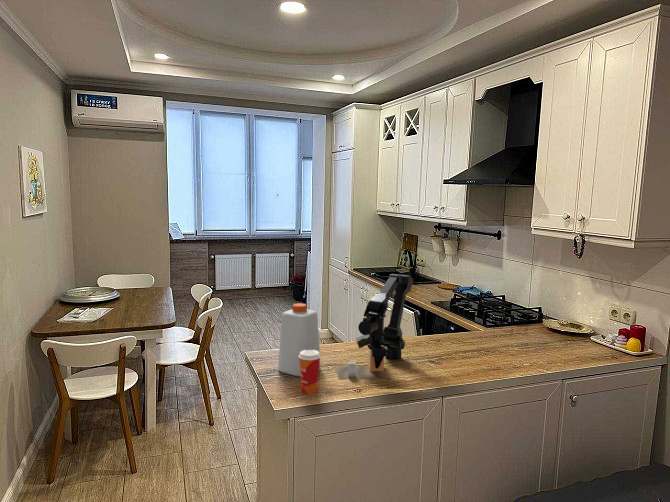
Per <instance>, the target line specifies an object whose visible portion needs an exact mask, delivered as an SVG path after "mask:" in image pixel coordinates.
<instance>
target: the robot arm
mask: <svg viewBox="0 0 670 502" xmlns="http://www.w3.org/2000/svg"><path fill="white" fill-rule="evenodd" d="M413 284H414V278H413V277H412V275H410V274H400V273H396V274H395V273H391V274H389V275H388V279H387V280H386V282H385V283H384V285H383V286H382V287H381V290H380V291H379V292H378V293H377V294H376V295H373V296H372V297H371V298H370V299H369V300H368V302H367V304H366V307H365V310H364V312H363V318H362V321H360V322H359V324H358V331H359V332H360V334H361V335H360V336H358V337H356V338H355V341H356V343H357V346H358V348H359V349H362V348H363V347H365V346H367V348H368V349H369V350H370V351H371V352H370V353H371V355H372V356H373V357H374V361H375V367H376V368H379V366H380V364H381V362H382V360H383V358H384V359H385V360H391V361H398V360H402V350H404V349H405V346H406V342H405V340H404V338H403V330H402V329H401V324H402V323H401V322H402V319H403V314H404V313H403V312H404V308H405V303H406V302H405V301H406V297H407V295H408V294H409V292H410V291H411V290H412V286H413ZM394 293H395V294H394ZM393 294H394V298H393V299H394V300H393V303H392V304H393V305H392V310H391V314H390V320H389V323H388V325H387V326H384V324H385V321H384V320H385V318H386V317H387V315H386V312H387V310H388V308H389V303H388V302H389V300H390V298H392V295H393Z"/></svg>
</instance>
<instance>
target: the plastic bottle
mask: <svg viewBox="0 0 670 502" xmlns="http://www.w3.org/2000/svg"><path fill="white" fill-rule="evenodd" d="M318 318H319V317H318V312H317V311H316V310H312V309H308V305H307V304H306V303H299V302H298V303H294V304H292V306H291V309H288V310H286V311H283V312H282V314H281V320H280V321H281V322H280V334H279V335H280V337H279V351H278V363H277V365H278V370H279V372H281V373H283V374H286V375H291V376H294V377H297V378H299V377H300V378H301V376H300V358H299V355H300V352H301V351H303V350H317V351H319V353H320V337H319V336H320V335H319V322H318ZM319 369H321V360H320V361H319Z"/></svg>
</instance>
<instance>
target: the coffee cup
mask: <svg viewBox="0 0 670 502" xmlns="http://www.w3.org/2000/svg"><path fill="white" fill-rule="evenodd" d="M299 358H300V376H301V377H300V390H301V393H302V394H304V395H308V396H309V395H314V394H317V393H318V390H319V389H318V388H319V373H320V368H319V361H320V362H321V354H320V353H319V351H317V350H303V351H301V352H300V355H299Z"/></svg>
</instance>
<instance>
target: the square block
mask: <svg viewBox="0 0 670 502" xmlns="http://www.w3.org/2000/svg"><path fill="white" fill-rule="evenodd" d="M370 352H371V350H370V351H368V362H367V363H368V365H367V366H368V367H369V370H370V371H384V369H385V367H384V366H385V365H384V363H385V357H384V358H383V360H382V362H381V364H380V366H379V368H376V367H375V361H374V357H373V356H372V355H371V353H370Z"/></svg>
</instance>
